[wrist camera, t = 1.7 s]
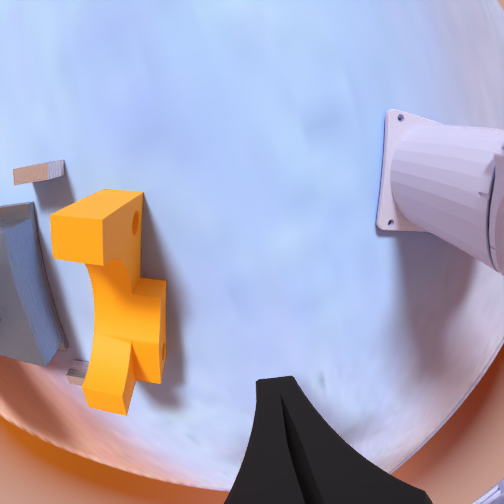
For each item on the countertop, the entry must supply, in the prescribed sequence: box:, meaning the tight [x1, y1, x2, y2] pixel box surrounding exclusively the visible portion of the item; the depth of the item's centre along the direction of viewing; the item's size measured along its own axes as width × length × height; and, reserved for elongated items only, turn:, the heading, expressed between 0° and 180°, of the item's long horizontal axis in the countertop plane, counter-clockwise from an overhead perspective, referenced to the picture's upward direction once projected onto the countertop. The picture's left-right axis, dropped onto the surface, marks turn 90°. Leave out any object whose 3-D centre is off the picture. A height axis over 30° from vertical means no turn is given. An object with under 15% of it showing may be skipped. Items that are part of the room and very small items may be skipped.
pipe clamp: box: [50, 189, 167, 416], centre depth 15 cm, size 12×4×6 cm, turn 171°
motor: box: [0, 160, 90, 386], centre depth 15 cm, size 10×17×4 cm, turn 179°
